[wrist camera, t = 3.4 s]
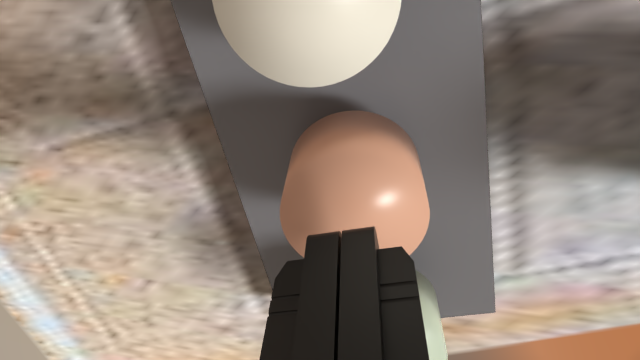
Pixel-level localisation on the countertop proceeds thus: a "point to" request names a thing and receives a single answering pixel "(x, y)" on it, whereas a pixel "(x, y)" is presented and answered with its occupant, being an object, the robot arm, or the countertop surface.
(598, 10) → the countertop surface
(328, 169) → the terracotta button
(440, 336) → the sage button
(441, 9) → the button panel
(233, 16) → the cream button
